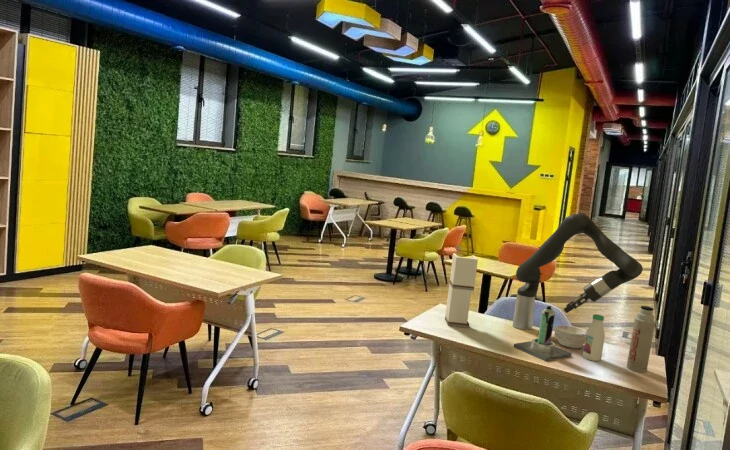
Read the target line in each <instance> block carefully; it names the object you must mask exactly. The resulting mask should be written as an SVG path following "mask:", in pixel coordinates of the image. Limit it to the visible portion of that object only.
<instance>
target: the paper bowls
mask: <svg viewBox="0 0 730 450" xmlns="http://www.w3.org/2000/svg"><path fill="white" fill-rule="evenodd" d="M586 334H587V330H586V329H584V328H581V327H577V326H574V325H567V324H566V325H565V324H561V325H560V324H558V325H556V326H555V329H554V338H556V339H557V342H558V343H559V344H560V345H562V346H564V347H567V348H571V349H580V348H582V347H583V345H585V339H586Z"/></svg>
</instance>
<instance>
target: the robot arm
mask: <svg viewBox="0 0 730 450" xmlns="http://www.w3.org/2000/svg"><path fill="white" fill-rule="evenodd" d="M581 234H585V235H586V236H587V237H589V238H590V239H591V240H592V241H593V243H594V244H595V246H596V248H597V251H598V252H599V253H600V254H601V255H602V256H604V258H606V259H607V260H608V261H610V263H613V264H614V265H615V266H616V267H617V268H618V269H616V270H610V271H608V272H607V273H605V274H603V275H602V276H600V277H598V278H596V279H595V280H593V281H591V282H590V283H588V284H587V285H585V286H584V287H583V291H584V292H582V293H580V294H578V296H576V297H575V298H574V299H572V301H570V302H569V303H567V304H566V307H564V308H563V311H564V312H565V313H566V314H568V313H569V312H571V311H572V310H577V308H579V307H582V306H583V305H584V304H586V303H588V300H591V302H594V303H596V302H597V301H598V300H600V299H602V298H603V297H605V296H606V295H608V294H609V293H610V292H611V291H613V290H614V289H616V288H617V287H619V286H620V285H623V284H626V283H629V282H630V281H633V280H634V279H636V278H638V277H639V276H641V274H642V273H643V265H642V264H641V262H639V261H638V260H637V259H635V258H634V257H633V256H631V255H629V254H628V253H627V252H625V251H624V250H623V248H621V247H620V246H619V245H618V244H617V243H615V242H613V240H611V239H610V238H609V237H608V236H607V235H606V234H605V232H603V231H602V230H601V228H599V226H597V224H596V223H594V221H593V220H592V219H591V218H590V217H589V216H588V215H586V214H585V213H582V212H581V213H574V214H570V215H567V216H566V217H565V218H564V219H563V220H562V222H561V223H560V225H559V226H558V227H557V229H556V230H555V231H554V232H553V233H552V234H551V235H550V236H549V237H548V238H547V239H546V240H545V241H544V242H543V243H541V245H540V247H538V249H537V250H536V251H534V252H533V254H532V255H530V257H528V258H527V259H526V260H525V261H524V262H523V263H521V264H520V265H519V266H518V267H517V269H516V271H515V278H516V279H517V280H518V281H519V282H520V283H521V282H522V283H525V284H524V285H522V286H520V287H519V288H517V291H516V292H517V293H516V299H515V306H514V313H513V319H512V327H514V328H516V329H519V330H525V331H526V330H527V331H528V330H531V329H533V322H534V317H535V310H534V308H535V302H536V295H537V293H538V290H539V286H540V281H541V274H542V273H541V267H543V266H545V265H548V264H550V263H552V262H554V261H555V260H556V259H557V258H558V257H559V256H560V255H561V254H562V253H563V251H564V247H565V244H566V243H567V242H568V241H569V240H571V238H572V237H574V236H576V235H581Z"/></svg>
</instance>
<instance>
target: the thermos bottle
mask: <svg viewBox="0 0 730 450" xmlns="http://www.w3.org/2000/svg"><path fill="white" fill-rule="evenodd" d="M655 326H656V320H655V315H654V308H653V307H651V306H648V305H647V306H646V305H641V306H640V309H639V312H637V313H636V317H634V321H633V327H632V332H631V337H630V338H631V339H630V345H629V351H628V357H627V361H626V369H628V370H630V371H633V372H637V373H643V374H644V373H647V372H648V371H647V370H648V366H649V361H650V354H651V348H652V343H653V337H654V333H655V332H654V331H655Z"/></svg>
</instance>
